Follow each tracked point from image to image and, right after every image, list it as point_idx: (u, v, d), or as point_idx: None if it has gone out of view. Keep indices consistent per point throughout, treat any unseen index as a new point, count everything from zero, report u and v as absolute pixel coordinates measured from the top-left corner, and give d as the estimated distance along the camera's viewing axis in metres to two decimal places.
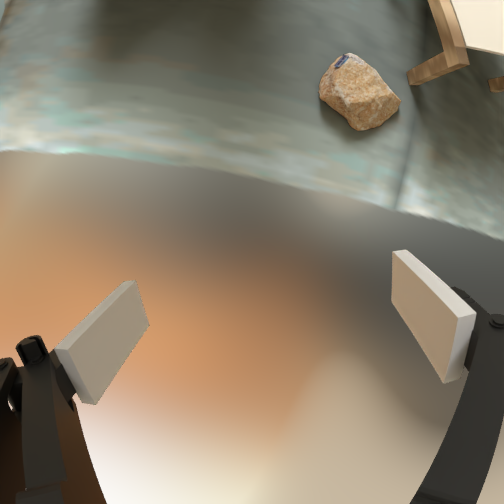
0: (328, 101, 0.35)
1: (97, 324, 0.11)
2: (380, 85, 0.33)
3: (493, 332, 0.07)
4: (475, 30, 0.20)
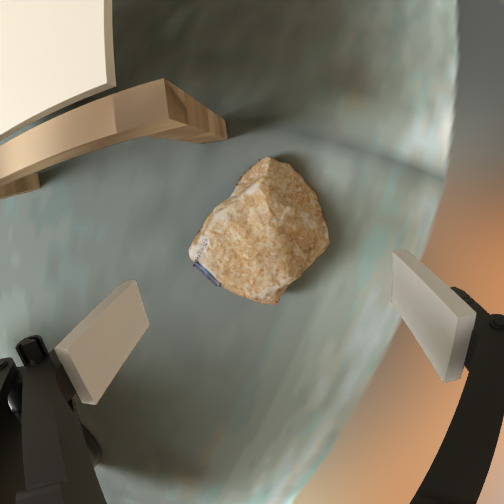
0: (281, 294, 0.24)
1: (97, 324, 0.11)
2: (247, 207, 0.21)
3: (493, 332, 0.07)
4: (59, 56, 0.09)
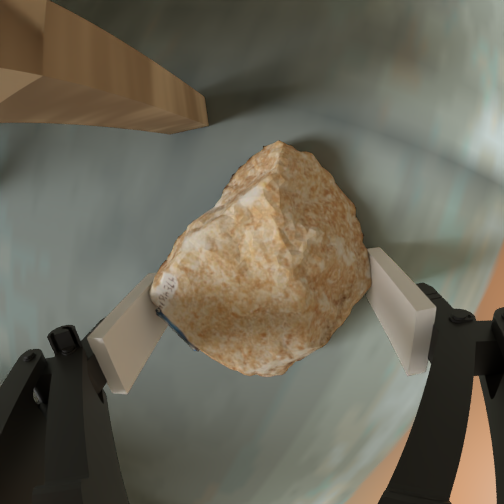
0: None
1: (128, 314, 0.12)
2: (240, 228, 0.12)
3: (453, 327, 0.07)
4: None
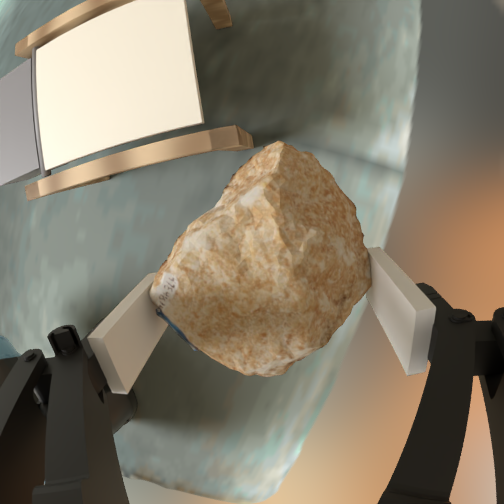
0: None
1: (128, 314, 0.12)
2: (241, 228, 0.12)
3: (453, 327, 0.07)
4: (168, 102, 0.21)
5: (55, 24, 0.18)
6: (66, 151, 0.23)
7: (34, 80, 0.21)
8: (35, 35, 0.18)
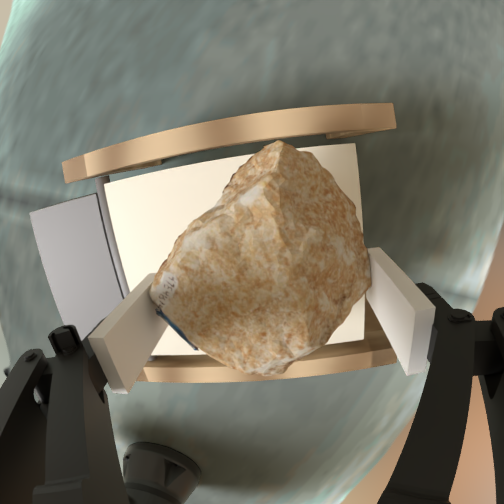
0: None
1: (129, 313, 0.12)
2: (240, 227, 0.12)
3: (452, 326, 0.07)
4: None
5: (137, 153, 0.17)
6: (184, 344, 0.21)
7: (112, 236, 0.19)
8: (99, 160, 0.17)
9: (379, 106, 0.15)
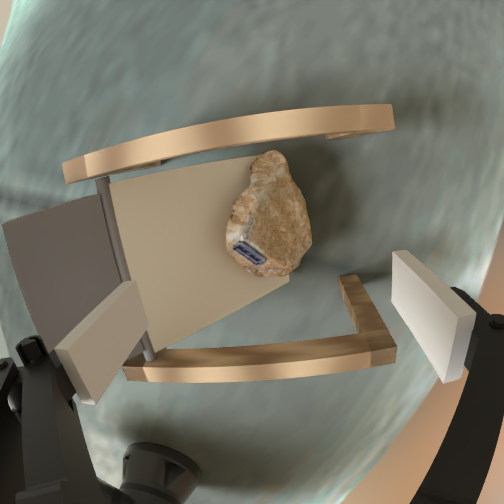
0: None
1: (97, 324, 0.11)
2: (278, 188, 0.25)
3: (493, 332, 0.07)
4: None
5: (137, 154, 0.17)
6: (183, 326, 0.24)
7: (117, 235, 0.20)
8: (99, 161, 0.17)
9: (378, 107, 0.15)
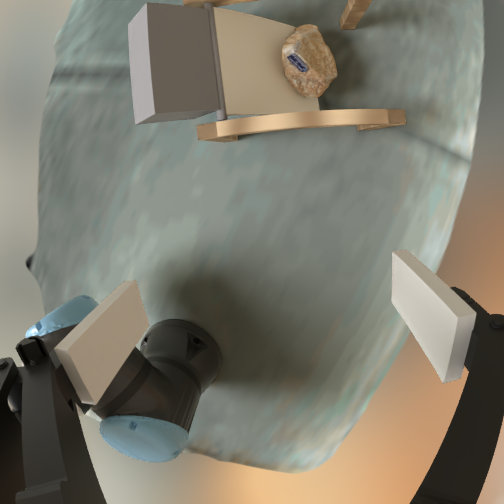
0: None
1: (97, 324, 0.11)
2: (313, 37, 0.31)
3: (493, 332, 0.07)
4: (307, 99, 0.36)
5: None
6: (248, 105, 0.31)
7: (215, 32, 0.26)
8: None
9: None
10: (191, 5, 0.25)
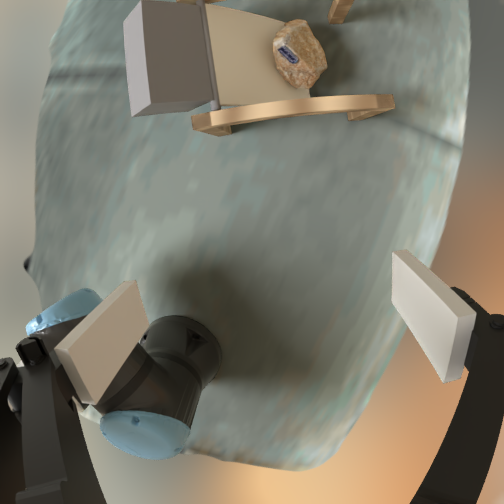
0: None
1: (97, 324, 0.11)
2: (303, 30, 0.32)
3: (493, 332, 0.07)
4: (299, 90, 0.37)
5: None
6: (241, 96, 0.31)
7: (207, 27, 0.27)
8: None
9: None
10: (184, 2, 0.26)
